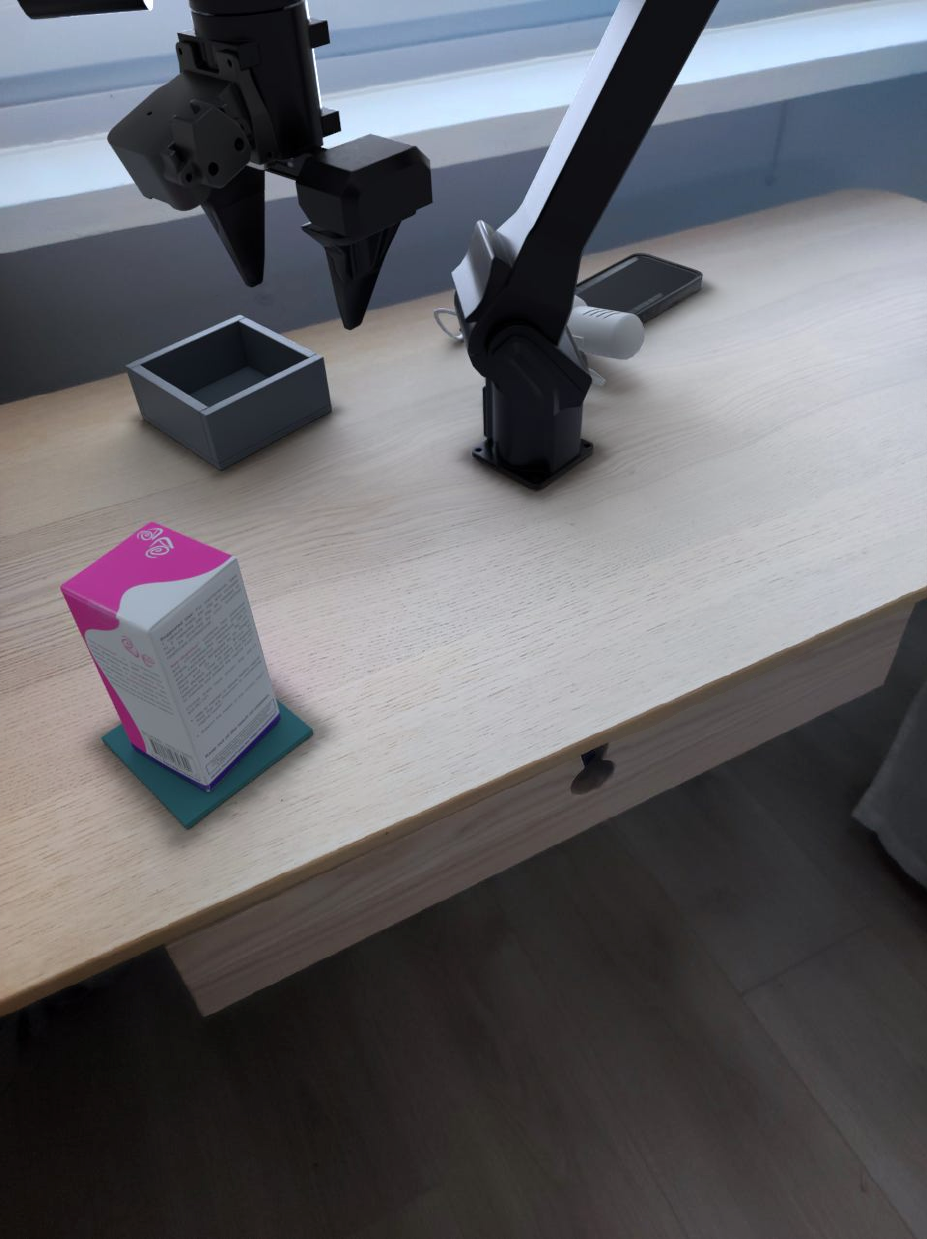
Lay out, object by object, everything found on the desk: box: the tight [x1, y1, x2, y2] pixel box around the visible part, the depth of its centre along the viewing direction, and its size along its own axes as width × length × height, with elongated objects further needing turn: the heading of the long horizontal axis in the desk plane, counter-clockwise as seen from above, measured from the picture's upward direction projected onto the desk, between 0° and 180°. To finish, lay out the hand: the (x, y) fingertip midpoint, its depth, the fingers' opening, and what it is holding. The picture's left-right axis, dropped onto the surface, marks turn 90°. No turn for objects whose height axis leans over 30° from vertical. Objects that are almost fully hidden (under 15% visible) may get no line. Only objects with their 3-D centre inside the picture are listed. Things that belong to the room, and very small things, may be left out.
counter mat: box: [101, 698, 314, 830], centre depth 48 cm, size 8×8×1 cm
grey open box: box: [124, 314, 333, 471], centre depth 69 cm, size 11×11×5 cm
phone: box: [575, 252, 704, 324], centre depth 81 cm, size 8×1×15 cm
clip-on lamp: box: [433, 295, 646, 387], centre depth 72 cm, size 12×6×18 cm
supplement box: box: [59, 521, 281, 793], centre depth 44 cm, size 6×6×12 cm
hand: (302, 305), depth 55 cm, fingers open, 9 cm apart
